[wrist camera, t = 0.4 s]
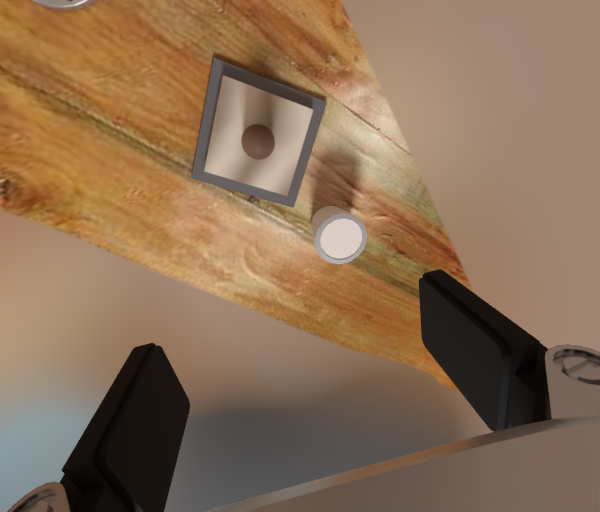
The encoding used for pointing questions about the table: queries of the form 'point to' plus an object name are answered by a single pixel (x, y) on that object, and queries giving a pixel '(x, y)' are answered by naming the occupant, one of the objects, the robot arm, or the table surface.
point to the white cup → (338, 234)
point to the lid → (256, 137)
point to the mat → (271, 87)
